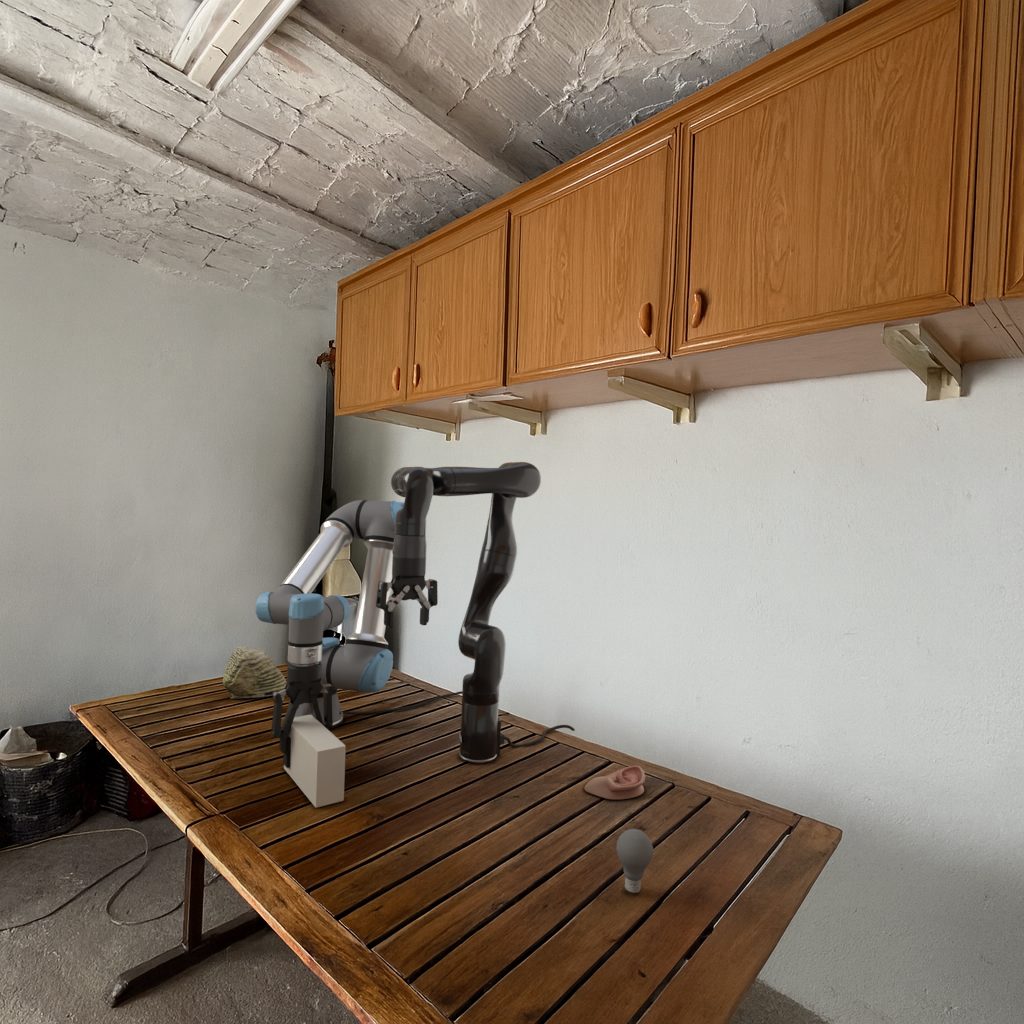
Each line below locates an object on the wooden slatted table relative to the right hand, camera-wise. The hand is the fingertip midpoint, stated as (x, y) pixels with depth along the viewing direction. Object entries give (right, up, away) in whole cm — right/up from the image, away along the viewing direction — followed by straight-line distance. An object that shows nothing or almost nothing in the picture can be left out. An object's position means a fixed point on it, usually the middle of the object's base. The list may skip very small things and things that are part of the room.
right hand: (406, 626), depth 144 cm
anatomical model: (+47, -37, 0) cm, 60 cm away
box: (-20, -34, -4) cm, 40 cm away
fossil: (-57, -31, +54) cm, 85 cm away
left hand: (-25, -32, +2) cm, 40 cm away
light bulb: (+44, -38, -38) cm, 69 cm away
